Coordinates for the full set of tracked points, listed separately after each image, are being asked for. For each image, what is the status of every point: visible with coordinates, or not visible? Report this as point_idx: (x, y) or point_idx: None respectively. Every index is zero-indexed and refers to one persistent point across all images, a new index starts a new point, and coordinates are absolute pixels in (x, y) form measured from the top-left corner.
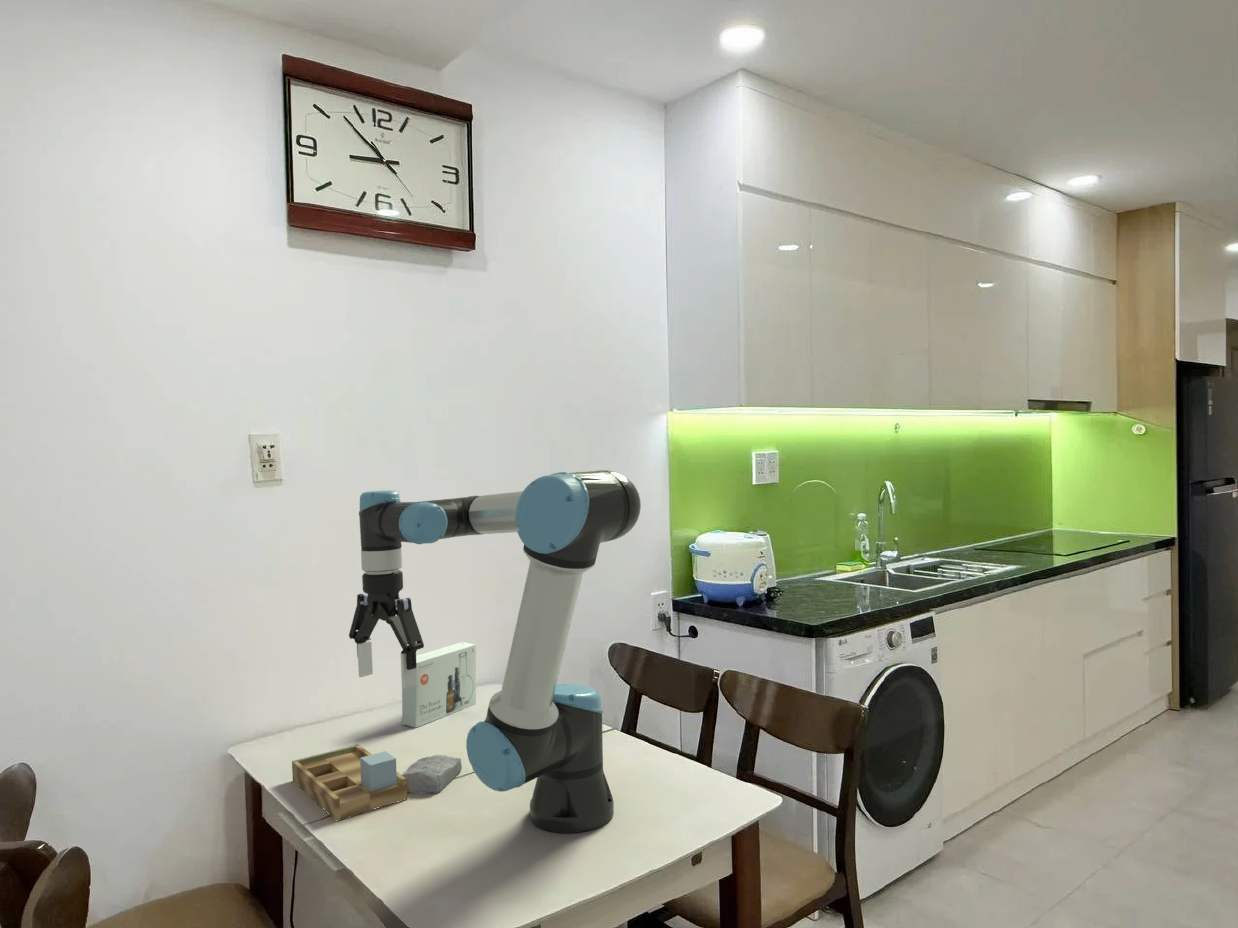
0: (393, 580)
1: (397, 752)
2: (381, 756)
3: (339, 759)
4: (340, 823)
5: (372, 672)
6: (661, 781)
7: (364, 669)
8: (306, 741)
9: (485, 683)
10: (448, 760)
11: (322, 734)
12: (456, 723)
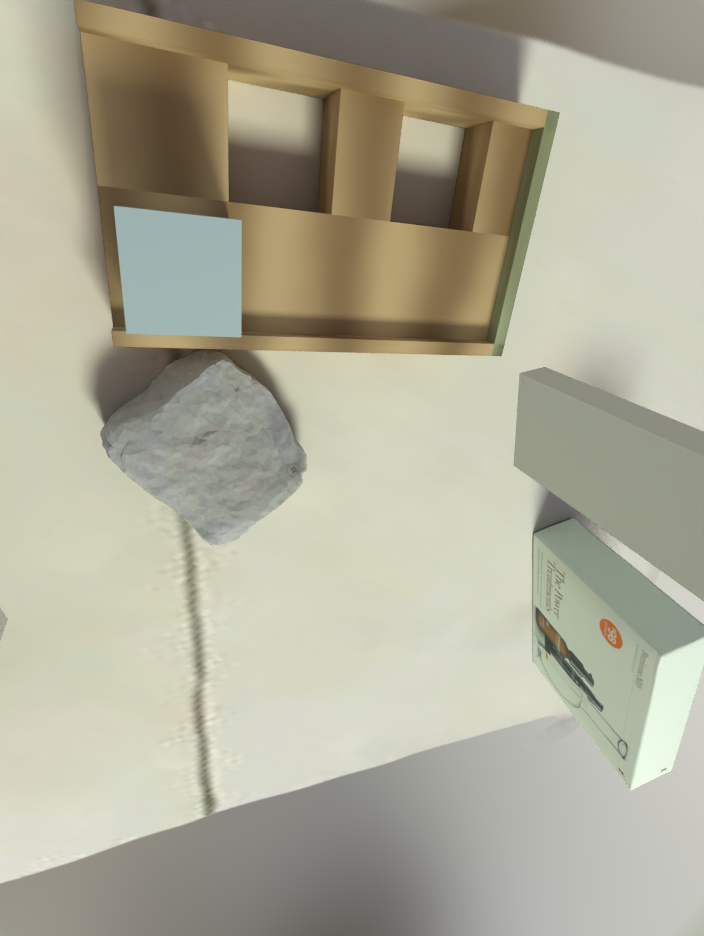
0: None
1: (449, 448)
2: (192, 297)
3: (471, 269)
4: (54, 30)
5: (521, 469)
6: None
7: (551, 422)
8: (687, 302)
9: None
10: (215, 514)
11: (684, 353)
12: (482, 605)
